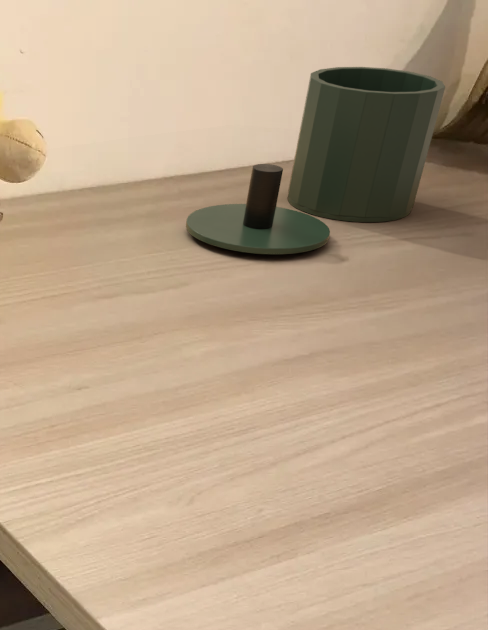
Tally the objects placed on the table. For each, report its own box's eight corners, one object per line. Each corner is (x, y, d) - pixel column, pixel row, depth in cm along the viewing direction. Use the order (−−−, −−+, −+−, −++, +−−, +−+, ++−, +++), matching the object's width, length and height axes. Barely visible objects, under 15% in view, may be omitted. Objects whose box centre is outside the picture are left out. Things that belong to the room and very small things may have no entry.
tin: (405, 191, 121) (437, 71, 113) (416, 227, 111) (451, 97, 103) (287, 182, 123) (310, 63, 115) (286, 216, 113) (311, 88, 105)
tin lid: (325, 221, 112) (340, 155, 107) (329, 266, 101) (345, 194, 96) (190, 210, 114) (199, 144, 110) (179, 253, 103) (188, 181, 99)
